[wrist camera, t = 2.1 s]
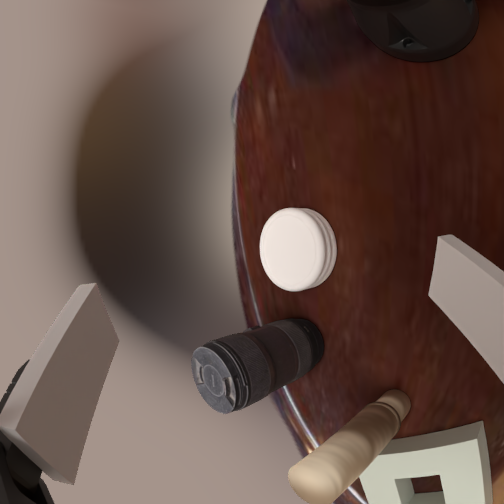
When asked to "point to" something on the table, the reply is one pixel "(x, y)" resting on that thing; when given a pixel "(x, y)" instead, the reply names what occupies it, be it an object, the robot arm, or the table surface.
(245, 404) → the camera lens
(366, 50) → the table surface
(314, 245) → the coaster
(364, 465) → the leg
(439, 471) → the board
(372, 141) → the table surface
